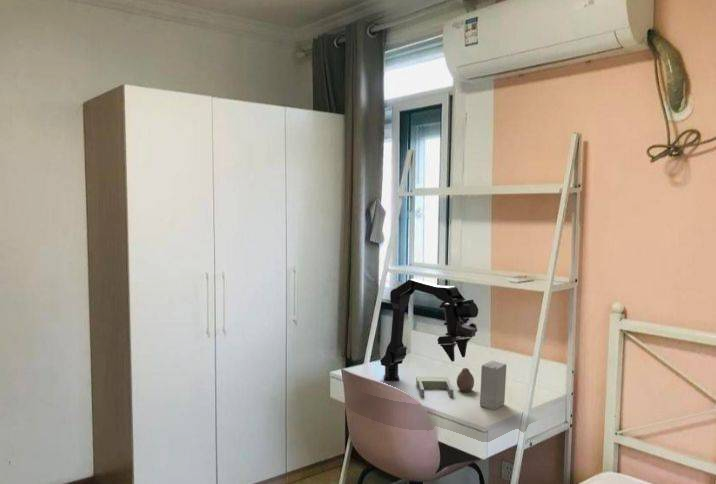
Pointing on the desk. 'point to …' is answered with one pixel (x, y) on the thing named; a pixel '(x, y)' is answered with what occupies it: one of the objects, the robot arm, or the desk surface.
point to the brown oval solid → (465, 380)
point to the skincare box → (493, 385)
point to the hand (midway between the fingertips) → (458, 359)
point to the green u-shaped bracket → (434, 384)
